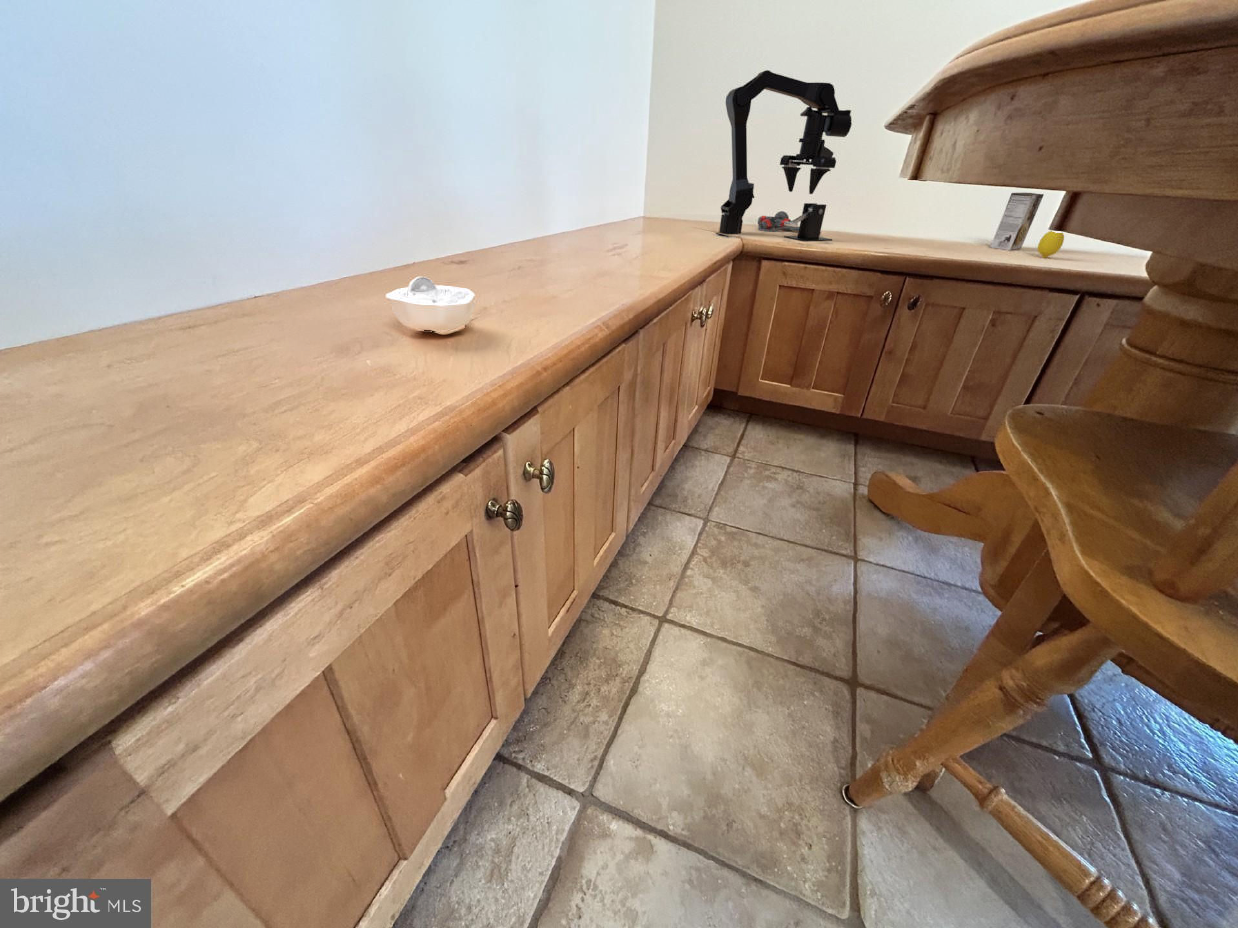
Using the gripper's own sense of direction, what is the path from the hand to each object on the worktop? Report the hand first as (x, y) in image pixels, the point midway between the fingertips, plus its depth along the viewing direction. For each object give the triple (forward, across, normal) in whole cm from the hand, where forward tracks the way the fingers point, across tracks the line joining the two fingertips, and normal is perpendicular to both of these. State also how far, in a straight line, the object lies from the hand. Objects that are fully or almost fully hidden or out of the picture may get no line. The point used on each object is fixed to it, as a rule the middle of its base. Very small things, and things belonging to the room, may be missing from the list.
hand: (800, 193), depth 161 cm
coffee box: (+12, -35, -62) cm, 72 cm away
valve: (+13, +9, -4) cm, 16 cm away
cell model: (+15, -68, +125) cm, 143 cm away
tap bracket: (+13, -9, +2) cm, 16 cm away
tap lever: (+7, -9, +5) cm, 13 cm away
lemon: (+12, -52, -52) cm, 75 cm away
